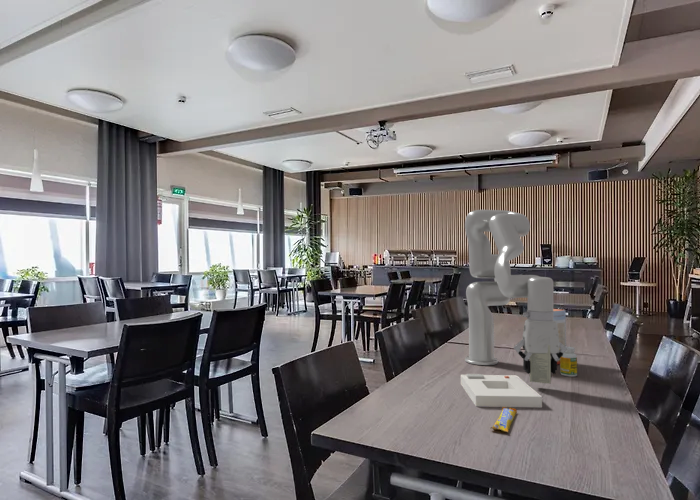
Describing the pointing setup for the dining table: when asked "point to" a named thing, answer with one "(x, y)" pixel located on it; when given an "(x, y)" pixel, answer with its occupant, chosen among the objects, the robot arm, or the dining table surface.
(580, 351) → the dining table surface
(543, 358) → the skincare box
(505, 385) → the socket plate
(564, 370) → the supplement bottle
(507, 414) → the candy bar
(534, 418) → the dining table surface
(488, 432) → the dining table surface
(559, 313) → the cracker box
